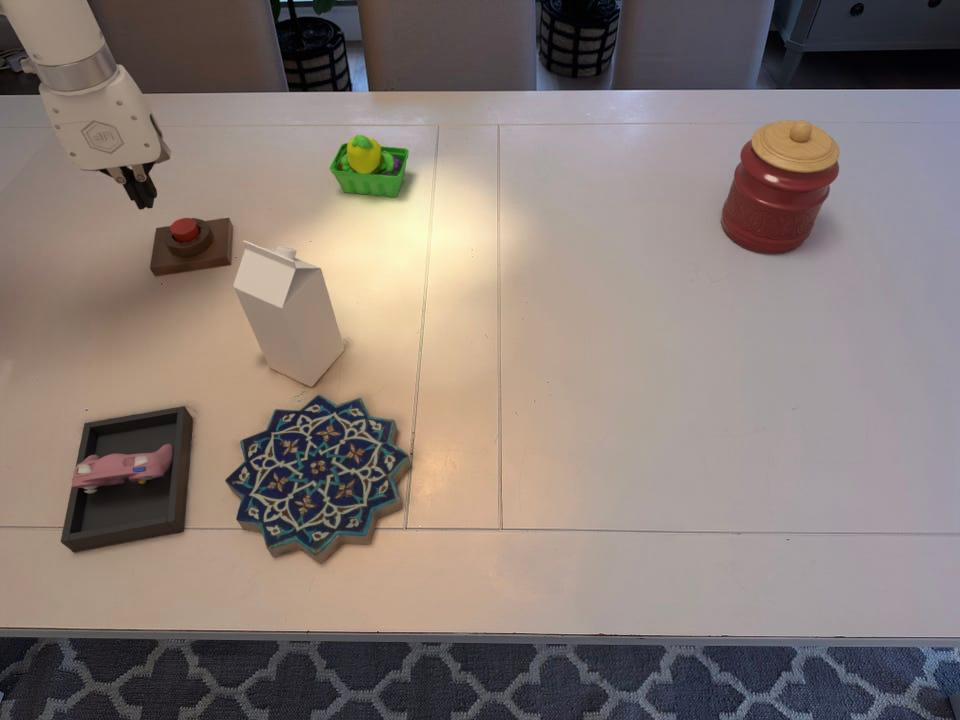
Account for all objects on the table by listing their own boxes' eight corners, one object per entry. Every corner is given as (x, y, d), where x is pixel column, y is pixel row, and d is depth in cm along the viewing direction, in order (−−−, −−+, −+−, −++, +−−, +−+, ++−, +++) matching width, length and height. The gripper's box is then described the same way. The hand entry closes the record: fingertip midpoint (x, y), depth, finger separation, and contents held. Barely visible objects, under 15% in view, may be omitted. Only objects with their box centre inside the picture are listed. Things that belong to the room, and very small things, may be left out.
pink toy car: (94, 496, 77) (59, 495, 70) (92, 456, 78) (58, 452, 71) (182, 482, 78) (156, 481, 71) (179, 443, 79) (154, 438, 72)
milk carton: (312, 388, 85) (272, 282, 70) (268, 367, 87) (220, 260, 72) (345, 350, 89) (314, 241, 74) (303, 331, 91) (264, 221, 76)
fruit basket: (413, 174, 112) (405, 112, 103) (400, 208, 107) (391, 146, 98) (347, 168, 114) (334, 107, 105) (331, 201, 108) (316, 140, 99)
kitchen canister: (703, 210, 105) (734, 106, 91) (776, 192, 107) (816, 88, 93) (749, 265, 97) (790, 160, 83) (826, 244, 99) (879, 139, 85)
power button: (173, 244, 98) (169, 235, 97) (175, 228, 100) (171, 219, 99) (199, 241, 98) (194, 231, 97) (200, 225, 101) (196, 216, 99)
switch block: (154, 276, 98) (144, 258, 96) (160, 236, 104) (151, 218, 101) (230, 264, 100) (223, 247, 97) (232, 225, 105) (225, 207, 102)
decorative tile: (264, 400, 84) (258, 388, 82) (421, 411, 82) (419, 400, 81) (207, 553, 72) (200, 544, 70) (391, 570, 70) (388, 561, 68)
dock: (73, 552, 72) (60, 542, 70) (95, 435, 82) (84, 422, 79) (183, 531, 73) (174, 520, 71) (193, 418, 83) (184, 405, 81)
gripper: (-6, 91, 69) (82, 229, 84) (143, 74, 71) (204, 213, 85) (12, 55, 74) (92, 192, 88) (152, 40, 75) (208, 177, 90)
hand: (147, 202), depth 87 cm, fingers closed
